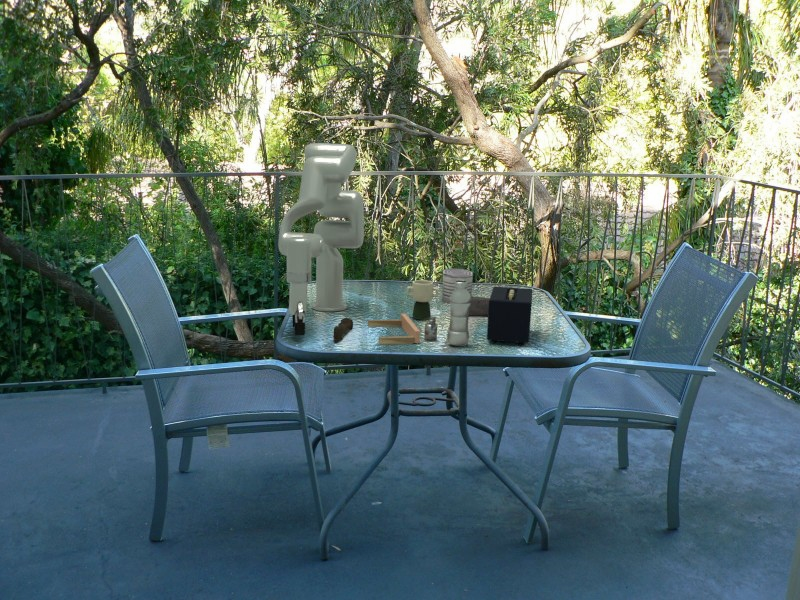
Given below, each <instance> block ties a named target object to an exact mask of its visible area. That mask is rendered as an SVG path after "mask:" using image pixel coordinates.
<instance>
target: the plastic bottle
mask: <svg viewBox="0 0 800 600" xmlns="http://www.w3.org/2000/svg"><path fill="white" fill-rule="evenodd" d="M454 287H455V290H454V291H453V292H452V294H451V296H450V305H449V308H450V317H449V318H450V321H449V325H448V326H449V327H448V331H447V336H446V337H447V342H448V344H449V345H452V346H456V347H459V346H460V347H463V346H466V345H468V343H469V342H470V341H469V340H470V333H469V316H470V315H469V309H470V304H471V296H470V294H469V292H468V291H467V289H466V288H467V281H464V280H456V281H455V285H454Z"/></svg>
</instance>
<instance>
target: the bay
mask: <svg viewBox="0 0 800 600" xmlns="http://www.w3.org/2000/svg"><path fill="white" fill-rule="evenodd" d="M401 325H402V320H401V319H368V320H367V326H368V328H380V327H381V328H383V327H385V328H388V327H389V328H390V327H393V328H394V327H398V328H399V327H400V328H401ZM413 343H415V337H414V336H408V335H407V336H405V335H403V336H378V345H414V344H413Z"/></svg>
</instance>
